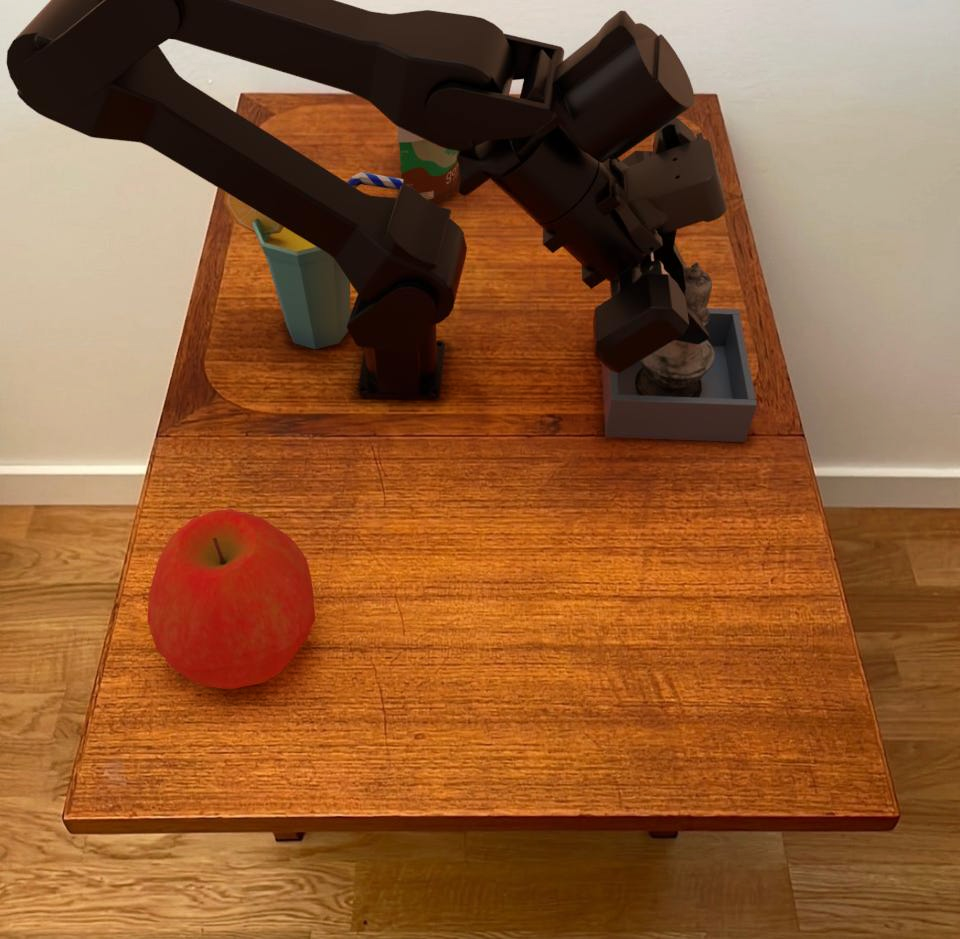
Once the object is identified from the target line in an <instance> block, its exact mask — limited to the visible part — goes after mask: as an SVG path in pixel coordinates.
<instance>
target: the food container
mask: <svg viewBox="0 0 960 939" xmlns="http://www.w3.org/2000/svg"><path fill="white" fill-rule="evenodd" d="M396 127H397V130H396V131H397V143H398V150H399V162H400V174H401V175H400V176H401V179H403V185H407V186H410V187H412V188H414V189H415V190H416V191H417V192H419V193H420V194H421V195H422V196H423V197H424V198H426V199H427V200H428V201H430V202H431V203H433V204H435V205H436V204H437V203H439V202H442V201H444V200H446V199H447V198H448V197H449V196H450V195H452V194H453V193H454V191H455V189H456V188H457V186H458V181H459V180H458V178H459V164H458V161H457V158H456V156H457V151H456V150H449V149H445V148H443V147H440V146H438V145H436V144H434V143H431V142H429V141H427V140H425V139H423V138H421V137H419V136H417V135H415V134H412V133H410V132H408V131H406V130H404V129H402V128H400V127H398V126H396Z"/></svg>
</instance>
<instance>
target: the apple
mask: <svg viewBox="0 0 960 939" xmlns="http://www.w3.org/2000/svg"><path fill="white" fill-rule="evenodd" d="M314 596H315V595H314V588H313V581H312V576H311V571H310V568H309V563H308V558H306V556H305V554H304V552H303V551H302V550H301V548H300V547H299V545H298V544H297V543H296V542H295V541H294V540H293V539H292V538H291V536H289V535H287V534H286V533H285V532H283V531H281V529H279V528H277V527H276V526H274V525H273V524H271V523H270V522H268V521H267V520H266V519H264V518H262V517H259V516H256V515H255V514H252V513H247V512H243V511H238V510H234V509H230V508H229V509H215V510H213V511H211V512H208V513H204V514H202V515H200V516H197V517H195V518H192V519H191V520H189V521H188V522H187V523H186V524H184V525H183V526H182V527H181V528H179V529H178V530H176V531H175V532H174V533H173V534H172V535H171V537H170V538H169V540H168V541H167V543H166V545H165V546H164V548H163V549H162V551H161V553H160V555H159V558H158V559H157V563H156V567H155V570H154V573H153V578H152V581H151V584H150V588H149V592H148V603H147V623H148V627H149V632H150V634H151V637H152V639H153V643H154V645H155V648H156V650H157V652H158V653H159V654H160V655H161V656H162V657H163V658H164V659H165V661H166V662H167V663H168V664H169V665H170V666H171V667H172V668H173V669H174V670H175V671H176V672H178V673H179V674H181V675H182V676H184V677H185V678H187V679H188V680H190V681H191V682H193V683H196V684H199V685H202V686H205V687H208V688H209V687H210V688H218V689H223V690H234V689H240V688H244V687H248V686H254V685H259V684H263V683H266V682H267V681H269V680H270V679H272V678H274V677H275V676H277V675H279V674H280V673H281V672H282V671H283V670H284V669H285V668H286V667H287V666H288V664H289V663H290V662H291V660H292V659H293V658H294V656H295V655H296V653H297V652H298V651H299V650H300V648H301V646H302V645H303V644H304V642H306V640H307V639H308V636H309V635H310V633H311V630H312V627H313V626H314V623H315V621H316V614H315V597H314Z"/></svg>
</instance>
